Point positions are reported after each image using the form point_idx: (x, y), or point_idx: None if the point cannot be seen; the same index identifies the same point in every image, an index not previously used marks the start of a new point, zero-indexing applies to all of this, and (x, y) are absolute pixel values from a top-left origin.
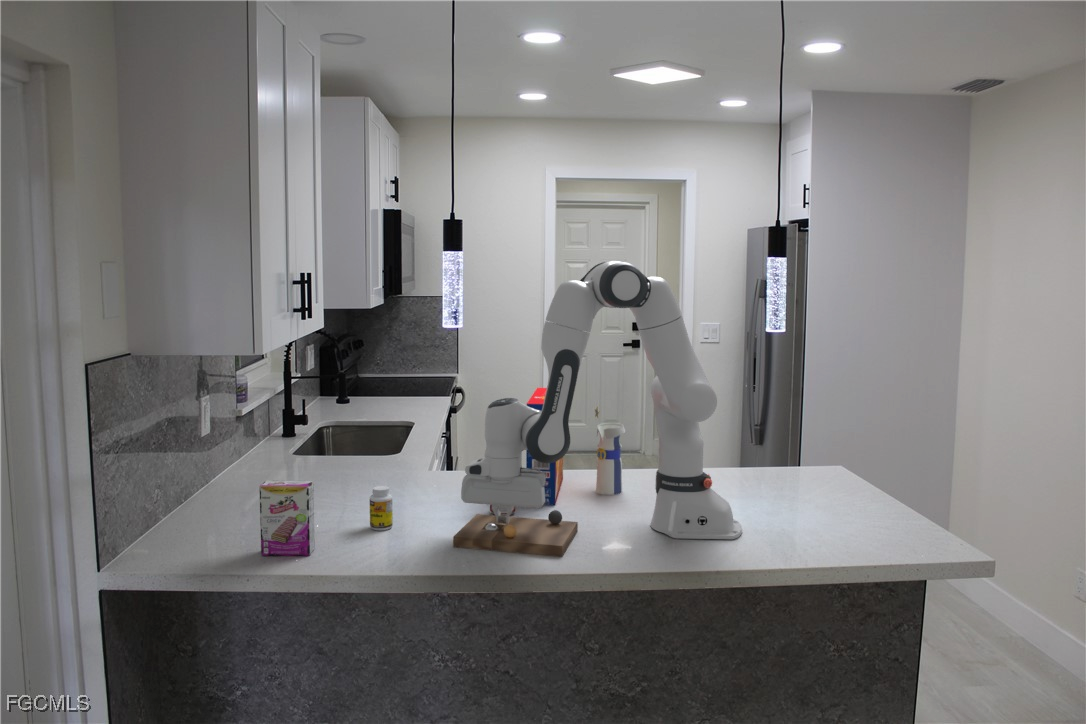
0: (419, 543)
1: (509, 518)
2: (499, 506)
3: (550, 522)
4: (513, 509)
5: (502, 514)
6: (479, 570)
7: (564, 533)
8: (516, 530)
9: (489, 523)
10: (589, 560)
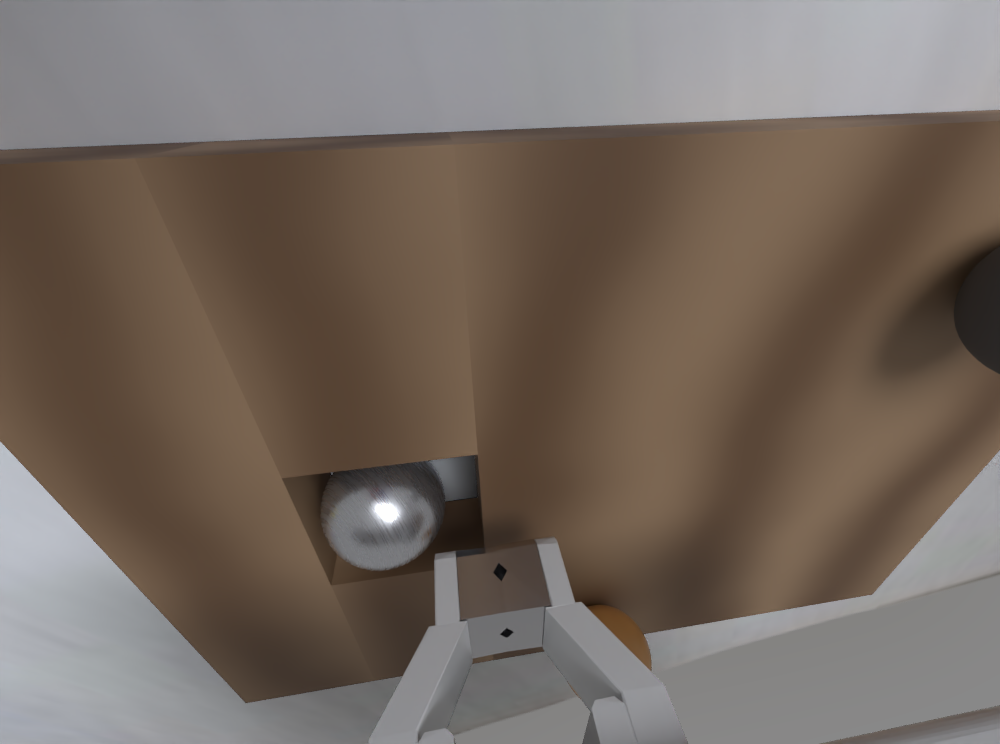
0: (36, 660)
1: (563, 571)
2: (454, 741)
3: (954, 320)
4: (646, 673)
5: (489, 619)
6: (512, 702)
7: (962, 455)
8: (649, 652)
9: (355, 553)
10: (932, 534)
